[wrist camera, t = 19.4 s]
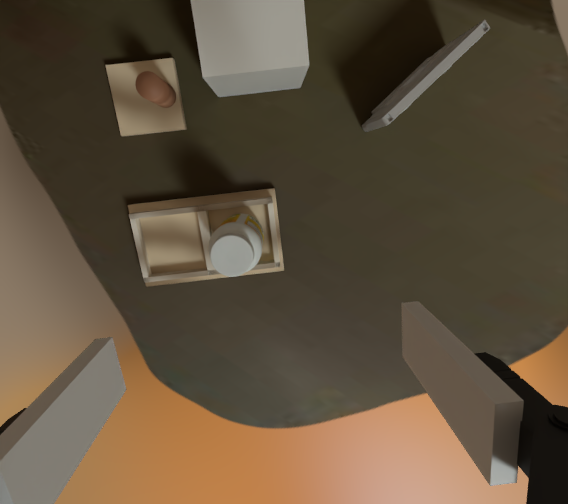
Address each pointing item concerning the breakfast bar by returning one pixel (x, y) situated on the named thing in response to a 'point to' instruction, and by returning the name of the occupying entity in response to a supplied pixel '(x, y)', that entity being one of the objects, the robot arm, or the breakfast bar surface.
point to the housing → (251, 44)
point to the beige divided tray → (199, 234)
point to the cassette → (423, 78)
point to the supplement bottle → (236, 245)
